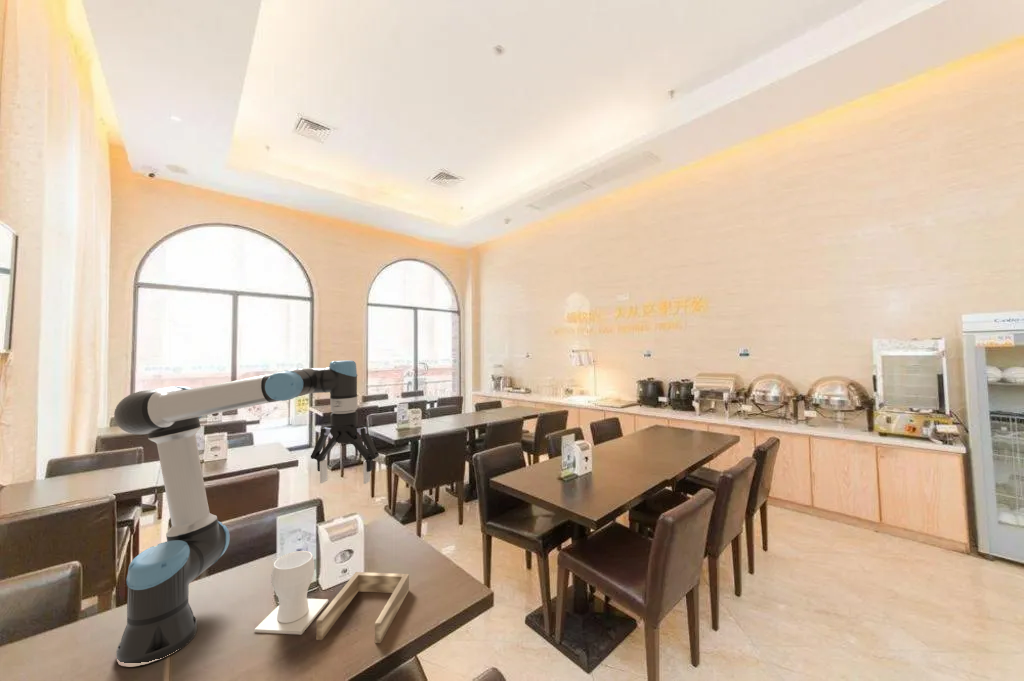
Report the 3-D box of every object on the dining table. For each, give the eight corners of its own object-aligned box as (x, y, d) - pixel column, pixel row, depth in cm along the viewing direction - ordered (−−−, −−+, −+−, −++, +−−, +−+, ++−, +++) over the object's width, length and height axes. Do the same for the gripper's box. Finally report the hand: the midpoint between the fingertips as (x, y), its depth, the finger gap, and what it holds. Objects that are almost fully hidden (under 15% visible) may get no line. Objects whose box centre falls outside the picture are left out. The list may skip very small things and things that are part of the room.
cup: (261, 624, 105) (261, 567, 105) (291, 599, 115) (291, 548, 115) (295, 629, 103) (295, 572, 103) (322, 603, 113) (322, 551, 113)
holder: (316, 639, 100) (316, 620, 100) (355, 588, 122) (355, 572, 122) (380, 643, 99) (380, 623, 99) (408, 590, 120) (408, 574, 120)
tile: (254, 632, 103) (254, 629, 103) (286, 600, 116) (286, 597, 116) (301, 634, 102) (301, 631, 102) (328, 602, 115) (328, 599, 115)
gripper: (297, 413, 115) (298, 486, 115) (378, 413, 113) (379, 486, 112) (312, 409, 122) (313, 477, 122) (388, 409, 120) (390, 478, 120)
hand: (345, 482), depth 117 cm, fingers open, 13 cm apart
